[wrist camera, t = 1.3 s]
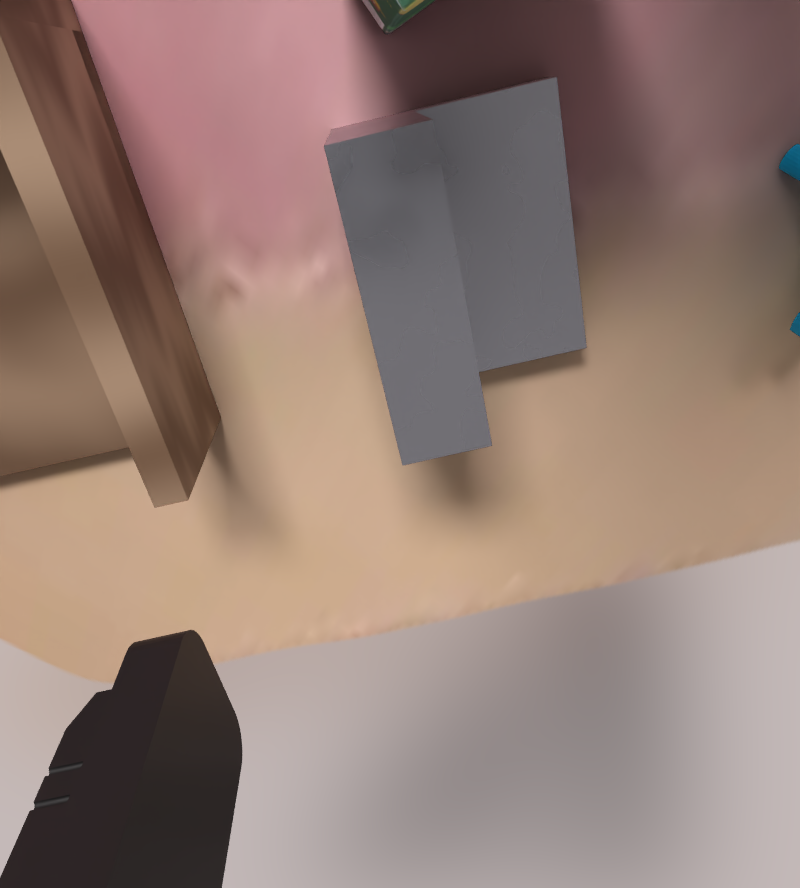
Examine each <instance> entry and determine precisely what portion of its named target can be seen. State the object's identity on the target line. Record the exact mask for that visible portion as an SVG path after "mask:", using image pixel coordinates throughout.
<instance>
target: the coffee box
mask: <svg viewBox="0 0 800 888" xmlns="http://www.w3.org/2000/svg"><path fill="white" fill-rule="evenodd" d="M362 1H363V3H364V4H365V6H366V7H367V8H368V10H369V11H370V13H371V14H372V16H373V17H374V19H375V20H376V21H377V23H378V24H379V26H380V27H381V29H382V30H383V32H384V33H385V34H390V33H392V32H393V31H394V30H396V29H398V28H399V27H401V26H402V25H403V24H404V23H406V22H407V21H408V20H410V19H411V18H412V17H414V16H415V15H416V14H418V13H419V12H421V11H422V10H423V9H425V8H426V7H428V6H429V5H430V4H432V3H433V2H434V1H436V0H362Z"/></svg>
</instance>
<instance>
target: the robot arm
mask: <svg viewBox="0 0 800 888" xmlns="http://www.w3.org/2000/svg"><path fill="white" fill-rule="evenodd" d="M241 765H242V741H241V733H240V728H239V723H238V720H237V716H236V714H235V711H234V709H233V707H232V705H231V702H230V700H229V698H228V696H227V693H226V691H225V689H224V687H223V685H222V682H221V680H220V678H219V676H218V674H217V671H216V669H215V667H214V665H213V662H212V660H211V658H210V656H209V653H208V651H207V649H206V647H205V645H204V642H203V640H202V639H201V637H200V636H199V634H198V633H197V632H195V631H194V630H189V631H184V632H179V633H175V634H170V635H166V636H161V637H156V638H152V639H147V640H143V641H138V642H135V643H133V644H132V645H131V646H130V647H129V648H128V650H127V652H126V655H125V657H124V660H123V662H122V665H121V667H120V670H119V673H118V675H117V678H116V680H115V683H114V685H113V688H112V689H111V690H106V691H102V692H97V693H96V694H95V695H94V696H93V698H92V699H91V700H90V701H89V702H88V703H87V705H86V706H85V707H84V708H83V709H82V711H81V712H80V713H79V714H78V715H77V717H76V718H75V719H74V720H73V721H72V723H71V724H70V725H69V726H68V727H67V728H66V730H65V732H64V735H63V737H62V739H61V742H60V744H59V746H58V748H57V750H56V753H55V755H54V757H53V760H52V762H51V764H50V766H49V776H45V778H44V780H43V782H42V784H41V787H40V789H39V791H38V793H37V796H36V798H35V800H34V804H35V808H34V810H31V811H30V812H29V814H28V816H27V818H26V821H25V823H24V825H23V827H22V830H21V832H20V834H19V836H18V839H17V841H16V843H15V846H14V848H13V850H12V852H11V855H10V857H9V859H8V861H7V864H6V866H5V868H4V871H3V873H2V875H1V877H0V888H222V882H223V876H224V870H225V864H226V858H227V852H228V846H229V839H230V833H231V827H232V821H233V815H234V808H235V802H236V796H237V790H238V784H239V777H240V772H241Z"/></svg>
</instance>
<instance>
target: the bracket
mask: <svg viewBox="0 0 800 888" xmlns="http://www.w3.org/2000/svg"><path fill="white" fill-rule="evenodd" d="M324 148H325V152H326V156H327V160H328V164H329V168H330V173H331V177H332V181H333V185H334V189H335V193H336V197H337V201H338V205H339V209H340V213H341V217H342V221H343V225H344V229H345V233H346V238H347V242H348V246H349V250H350V254H351V258H352V262H353V266H354V270H355V274H356V278H357V282H358V286H359V290H360V294H361V298H362V303H363V307H364V311H365V315H366V319H367V323H368V327H369V331H370V335H371V339H372V343H373V347H374V351H375V355H376V359H377V363H378V368H379V372H380V376H381V380H382V384H383V388H384V392H385V396H386V400H387V404H388V408H389V412H390V416H391V420H392V424H393V429H394V433H395V437H396V441H397V445H398V449H399V453H400V457H401V461H402V465H407V464H411V463H416V462H420V461H425V460H430V459H434V458H439V457H443V456H448V455H452V454H457V453H461V452H466V451H470V450H475V449H479V448H484V447H488V446H492V442H491V437H490V431H489V426H488V420H487V415H486V409H485V403H484V398H483V392H482V387H481V381H480V376H479V372H481V371H486V370H490V369H495V368H499V367H504V366H508V365H513V364H517V363H521V362H526V361H530V360H535V359H539V358H544V357H548V356H553V355H557V354H561V353H566V352H570V351H575V350H579V349H584V348H587V347H586V338H585V329H584V320H583V311H582V301H581V292H580V283H579V274H578V265H577V256H576V247H575V238H574V228H573V219H572V210H571V201H570V192H569V183H568V174H567V165H566V156H565V146H564V137H563V128H562V119H561V110H560V101H559V92H558V83H557V77H546V78H542V79H538V80H534V81H529V82H525V83H521V84H517V85H513V86H509V87H505V88H501V89H496V90H492V91H488V92H484V93H480V94H476V95H472V96H467V97H463V98H459V99H455V100H451V101H447V102H443V103H439V104H434V105H430V106H426V107H422V108H418V109H414V110H410V111H405V112H401V113H397V114H393V115H389V116H385V117H381V118H377V119H372V120H368V121H364V122H360V123H356V124H352V125H348V126H343V127H339V128H335V129H332V130H331V132H330V134H329V136H328V138H327V140H326V142H325V144H324Z"/></svg>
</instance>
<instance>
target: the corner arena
mask: <svg viewBox="0 0 800 888" xmlns="http://www.w3.org/2000/svg"><path fill="white" fill-rule="evenodd" d="M220 419H221V417H220V414H219V411H218V408H217V405H216V403H215V400H214V397H213V394H212V392H211V389H210V386H209V383H208V380H207V378H206V375H205V372H204V369H203V367H202V364H201V361H200V358H199V355H198V353H197V350H196V347H195V344H194V342H193V339H192V336H191V333H190V330H189V328H188V325H187V322H186V319H185V317H184V314H183V311H182V308H181V305H180V303H179V300H178V297H177V294H176V292H175V289H174V286H173V283H172V280H171V278H170V275H169V272H168V269H167V267H166V264H165V261H164V258H163V255H162V253H161V250H160V247H159V244H158V242H157V239H156V236H155V233H154V230H153V228H152V225H151V222H150V219H149V217H148V214H147V211H146V208H145V205H144V203H143V200H142V197H141V194H140V192H139V189H138V186H137V183H136V180H135V178H134V175H133V172H132V169H131V167H130V164H129V161H128V158H127V155H126V153H125V150H124V147H123V144H122V142H121V139H120V136H119V133H118V130H117V128H116V125H115V122H114V119H113V117H112V114H111V111H110V108H109V105H108V103H107V100H106V97H105V94H104V92H103V89H102V86H101V83H100V80H99V78H98V75H97V72H96V69H95V67H94V64H93V61H92V58H91V55H90V53H89V50H88V47H87V44H86V42H85V39H84V36H83V33H82V30H81V28H80V25H79V22H78V19H77V17H76V14H75V11H74V8H73V5H72V3H71V0H0V476H4V475H8V474H13V473H17V472H21V471H26V470H30V469H35V468H39V467H44V466H48V465H53V464H57V463H61V462H66V461H70V460H75V459H79V458H84V457H88V456H92V455H97V454H101V453H106V452H110V451H115V450H119V449H124V448H128V447H129V449H130V452H131V454H132V456H133V459H134V461H135V463H136V466H137V468H138V470H139V473H140V475H141V477H142V480H143V482H144V484H145V487H146V489H147V491H148V494H149V496H150V498H151V501H152V503H153V505H154V507H155V508H156V507H160V506H165V505H169V504H174V503H178V502H183V501H187V500H188V499H189V497H190V494H191V492H192V489H193V487H194V484H195V482H196V479H197V477H198V474H199V472H200V469H201V467H202V464H203V462H204V459H205V457H206V454H207V452H208V449H209V446H210V444H211V441H212V439H213V436H214V434H215V431H216V429H217V426H218V424H219V421H220Z"/></svg>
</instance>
